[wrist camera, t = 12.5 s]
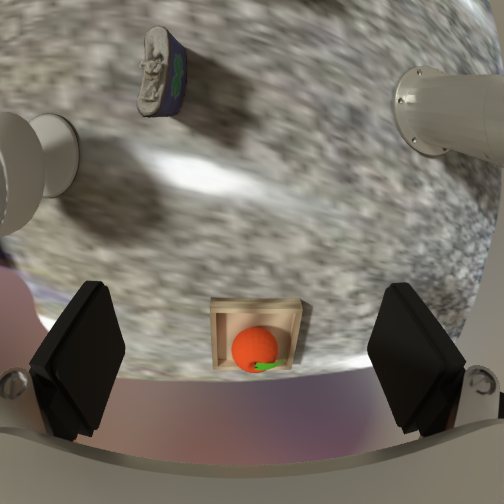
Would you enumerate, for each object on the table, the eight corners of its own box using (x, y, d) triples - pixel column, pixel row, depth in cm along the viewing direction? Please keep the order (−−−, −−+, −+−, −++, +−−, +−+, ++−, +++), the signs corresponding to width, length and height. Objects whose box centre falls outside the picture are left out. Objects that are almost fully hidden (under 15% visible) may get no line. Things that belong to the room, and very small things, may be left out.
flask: (166, 44, 27) (139, 21, 17) (191, 44, 27) (172, 18, 18) (159, 116, 31) (128, 119, 22) (183, 116, 31) (160, 118, 22)
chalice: (102, 130, 31) (30, 146, 18) (67, 219, 36) (6, 271, 23) (32, 93, 27) (-44, 100, 14) (5, 178, 32) (-60, 213, 19)
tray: (300, 298, 43) (303, 308, 41) (289, 358, 49) (291, 369, 47) (211, 297, 42) (209, 307, 40) (213, 358, 48) (213, 369, 46)
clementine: (285, 318, 44) (292, 351, 37) (279, 350, 47) (284, 383, 40) (232, 316, 43) (231, 350, 37) (230, 349, 46) (230, 382, 40)
